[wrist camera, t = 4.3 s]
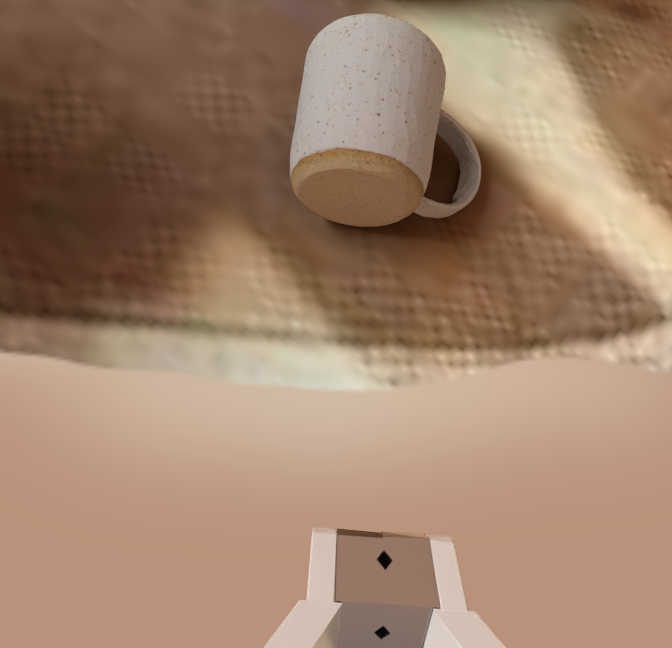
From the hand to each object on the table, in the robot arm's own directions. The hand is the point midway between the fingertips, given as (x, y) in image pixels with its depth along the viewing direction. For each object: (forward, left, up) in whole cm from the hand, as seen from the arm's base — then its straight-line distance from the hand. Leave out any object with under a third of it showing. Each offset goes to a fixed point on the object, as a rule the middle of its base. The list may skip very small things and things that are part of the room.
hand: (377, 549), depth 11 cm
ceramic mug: (+15, +11, -14) cm, 24 cm away
